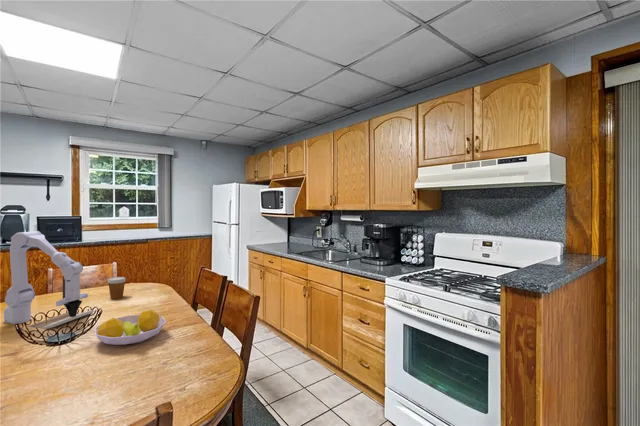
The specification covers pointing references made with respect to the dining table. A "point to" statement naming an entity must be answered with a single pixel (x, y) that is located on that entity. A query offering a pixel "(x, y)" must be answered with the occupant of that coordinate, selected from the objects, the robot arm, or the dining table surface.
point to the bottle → (63, 287)
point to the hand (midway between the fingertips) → (72, 316)
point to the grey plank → (67, 319)
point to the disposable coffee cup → (116, 287)
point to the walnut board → (50, 320)
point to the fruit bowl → (130, 328)
